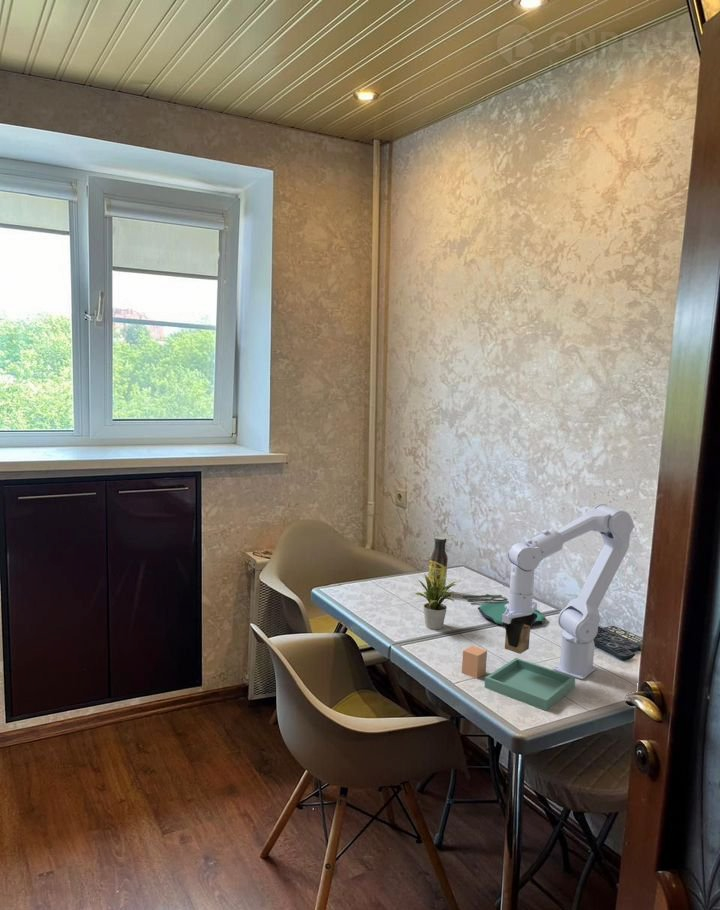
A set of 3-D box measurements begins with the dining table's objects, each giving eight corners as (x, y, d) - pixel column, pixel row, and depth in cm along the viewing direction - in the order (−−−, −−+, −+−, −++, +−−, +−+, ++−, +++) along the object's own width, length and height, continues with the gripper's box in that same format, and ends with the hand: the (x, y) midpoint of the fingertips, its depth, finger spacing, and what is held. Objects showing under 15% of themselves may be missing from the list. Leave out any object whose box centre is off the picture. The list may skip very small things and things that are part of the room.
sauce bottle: (423, 592, 229) (426, 536, 227) (434, 588, 234) (437, 534, 231) (438, 597, 225) (441, 540, 222) (449, 593, 229) (452, 537, 226)
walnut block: (513, 643, 170) (514, 621, 170) (528, 648, 167) (530, 626, 167) (504, 648, 167) (506, 626, 166) (520, 653, 164) (521, 630, 163)
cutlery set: (495, 631, 197) (496, 624, 196) (456, 599, 226) (457, 592, 225) (555, 628, 202) (555, 620, 202) (509, 596, 231) (509, 590, 230)
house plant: (457, 639, 189) (460, 584, 187) (409, 634, 191) (412, 580, 189) (460, 622, 203) (463, 570, 201) (415, 617, 205) (417, 566, 203)
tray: (515, 666, 172) (516, 657, 172) (574, 687, 162) (575, 677, 162) (484, 687, 160) (485, 677, 160) (546, 710, 150) (546, 700, 150)
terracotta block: (470, 667, 171) (472, 645, 170) (485, 673, 168) (487, 650, 168) (461, 673, 168) (463, 650, 167) (476, 678, 165) (478, 655, 164)
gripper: (520, 581, 173) (517, 631, 175) (492, 594, 162) (489, 646, 164) (545, 588, 169) (542, 638, 170) (518, 601, 158) (514, 655, 159)
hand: (517, 643), depth 167 cm, fingers closed on walnut block, 4 cm apart
